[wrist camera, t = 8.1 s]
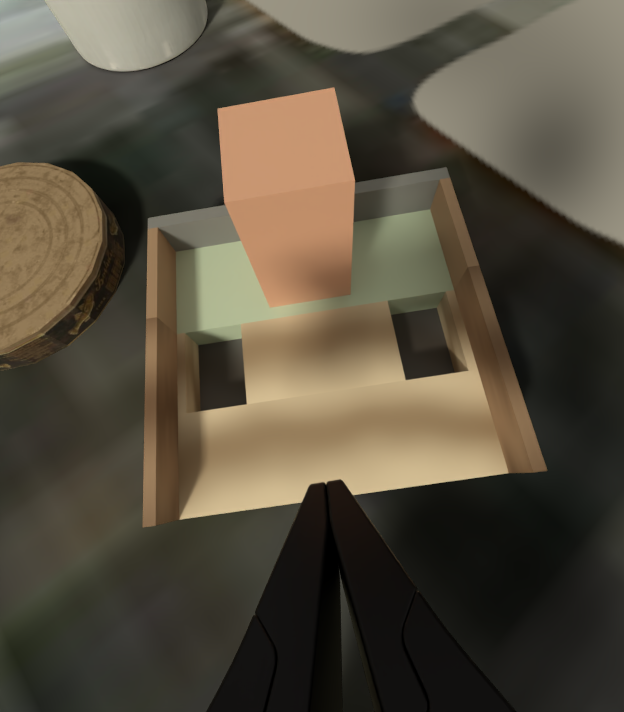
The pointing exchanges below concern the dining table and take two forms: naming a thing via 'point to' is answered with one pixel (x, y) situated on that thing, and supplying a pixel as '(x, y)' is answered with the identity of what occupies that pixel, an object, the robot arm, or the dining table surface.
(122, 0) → the utensil holder
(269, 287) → the terracotta block
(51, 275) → the wood slice
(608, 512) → the dining table surface
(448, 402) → the board
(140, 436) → the dining table surface
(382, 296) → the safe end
